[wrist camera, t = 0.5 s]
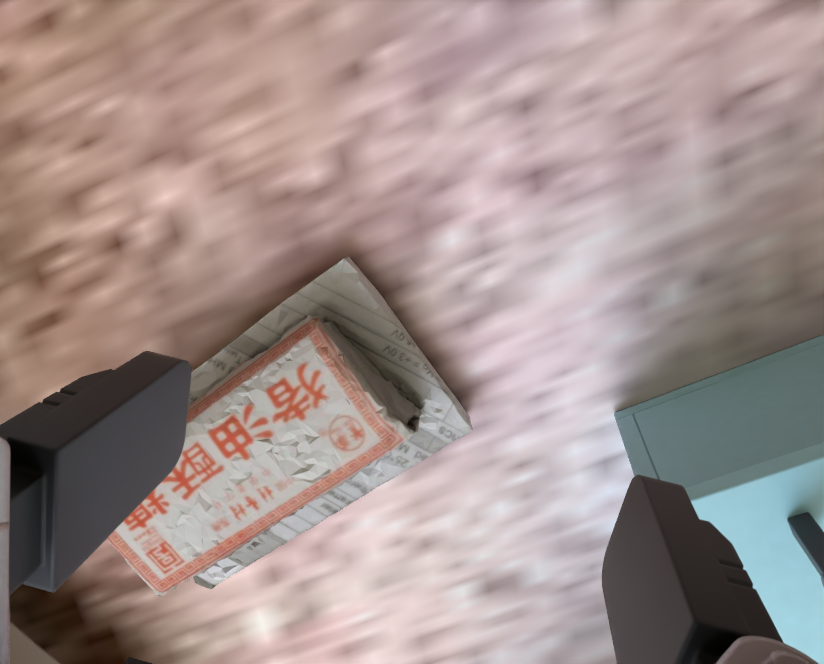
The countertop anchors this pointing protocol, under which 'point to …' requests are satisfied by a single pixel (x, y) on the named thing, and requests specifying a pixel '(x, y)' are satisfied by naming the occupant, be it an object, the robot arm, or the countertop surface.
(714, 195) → the countertop surface
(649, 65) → the countertop surface
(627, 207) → the countertop surface
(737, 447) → the box
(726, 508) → the freezer lid
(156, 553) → the packaged product
